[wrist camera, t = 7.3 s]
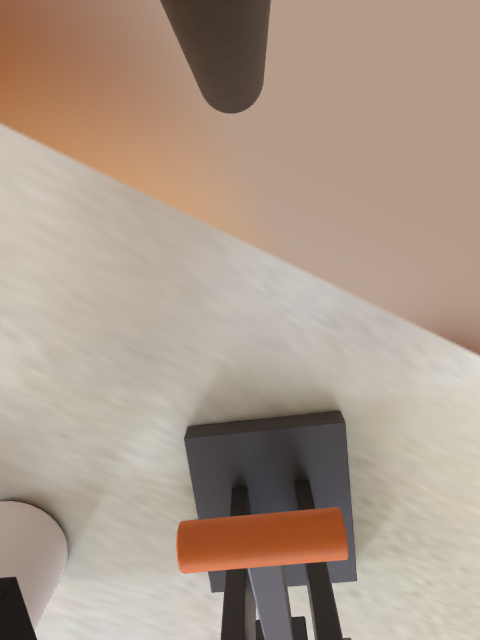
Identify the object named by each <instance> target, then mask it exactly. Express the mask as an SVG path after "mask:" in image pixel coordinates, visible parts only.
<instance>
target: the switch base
mask: <svg viewBox="0 0 480 640" xmlns="http://www.w3.org/2000/svg"><path fill="white" fill-rule="evenodd" d="M184 441H185V447H186V452H187V458H188V463H189V469H190V475H191V480H192V486H193V491H194V497H195V502H196V508H197V514H198V519H210V518H221V517H233V516H244V515H255V514H266V513H277V512H288V511H299V510H310V509H321V508H332V507H339V508H340V510H341V512H342V516H343V520H344V524H345V529H346V535H347V542H348V559H347V560H339V561H326V562H314V563H302V564H290V565H284V569H285V576H286V582H287V587H288V586H301V585H307V588H308V595H309V602H310V609H311V615H312V622H313V629H314V636H315V640H351V638H343V637H342V632H341V627H340V622H339V618H338V613H337V608H336V603H335V599H334V594H333V589H332V584H331V583H338V582H351V581H357V574H356V560H355V547H354V533H353V520H352V507H351V493H350V480H349V466H348V453H347V439H346V426H345V421H344V418H343V416H342V414H341V411H335V412H326V413H316V414H306V415H297V416H287V417H277V418H268V419H258V420H248V421H239V422H229V423H219V424H210V425H200V426H190V427H187V430H186V434H185V437H184ZM208 575H209V581H210V586H211V592H212V593H213V592H224V602H223V615H222V629H221V640H256V627H255V621H256V602H255V598H254V593H253V589H252V585H251V581H250V577H249V573H248V568H242V569H230V570H218V571H208Z"/></svg>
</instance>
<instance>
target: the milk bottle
mask: <svg viewBox="0 0 480 640" xmlns="http://www.w3.org/2000/svg"><path fill="white" fill-rule="evenodd" d="M67 560H68V546H67V542H66V538H65V536H64V533H63V531H62V529H61V528H60V527H59V525H58V524H57V522H56V521H55V520H53V519H52V518H51V517H50V516H49V515H48V514H47V513H45V512H44V511H42V510H41V509H39V508H36V507H34V506H32V505H29V504H25V503H22V502H14V501H4V502H0V578H4V577H16V578H17V581H18V584H19V587H20V590H21V593H22V596H23V599H24V602H25V605H26V608H27V611H28V614H29V617H30V620H31V623H32V626H33V629H35V627H36V625H37V623H38V621H39V620H40V618H41V616H42V614H43V612H44V610H45V608H46V606H47V604H48V602H49V600H50V598H51V596H52V594H53V592H54V591H55V589H56V587H57V585H58V583H59V581H60V578H61V576H62V574H63V572H64V570H65V568H66V565H67Z"/></svg>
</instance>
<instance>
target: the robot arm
mask: <svg viewBox="0 0 480 640" xmlns="http://www.w3.org/2000/svg"><path fill="white" fill-rule="evenodd" d="M0 640H37V638H36V635H35V632H34V629H33V626H32V623H31V620H30V617H29V614H28V611H27V608H26V605H25V602H24V599H23V596H22V593H21V590H20V587H19V584H18V581H17V578H16V577H4V578H0Z"/></svg>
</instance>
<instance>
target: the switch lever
mask: <svg viewBox="0 0 480 640" xmlns="http://www.w3.org/2000/svg"><path fill="white" fill-rule="evenodd" d="M176 550H177V561H178V566H179V570H180V572H181V573H194V572H206V571H218V570H230V569H242V568H248V573H249V577H250V581H251V585H252V589H253V593H254V598H255V602H256V606H257V610H258V614H259V618H260V620H256V621H255V627H256V640H308V638H307V630H306V622H305V617H304V616H302V617H291V610H290V603H289V596H288V589H287V582H286V576H285V569H284V565H290V564H302V563H314V562H326V561H339V560H347V559H348V542H347V535H346V529H345V524H344V520H343V516H342V512H341V510H340V508H339V507H332V508H321V509H310V510H299V511H288V512H277V513H266V514H255V515H244V516H233V517H221V518H210V519H199V520H188V521H182V522H180V524H179V527H178V531H177V542H176Z"/></svg>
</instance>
